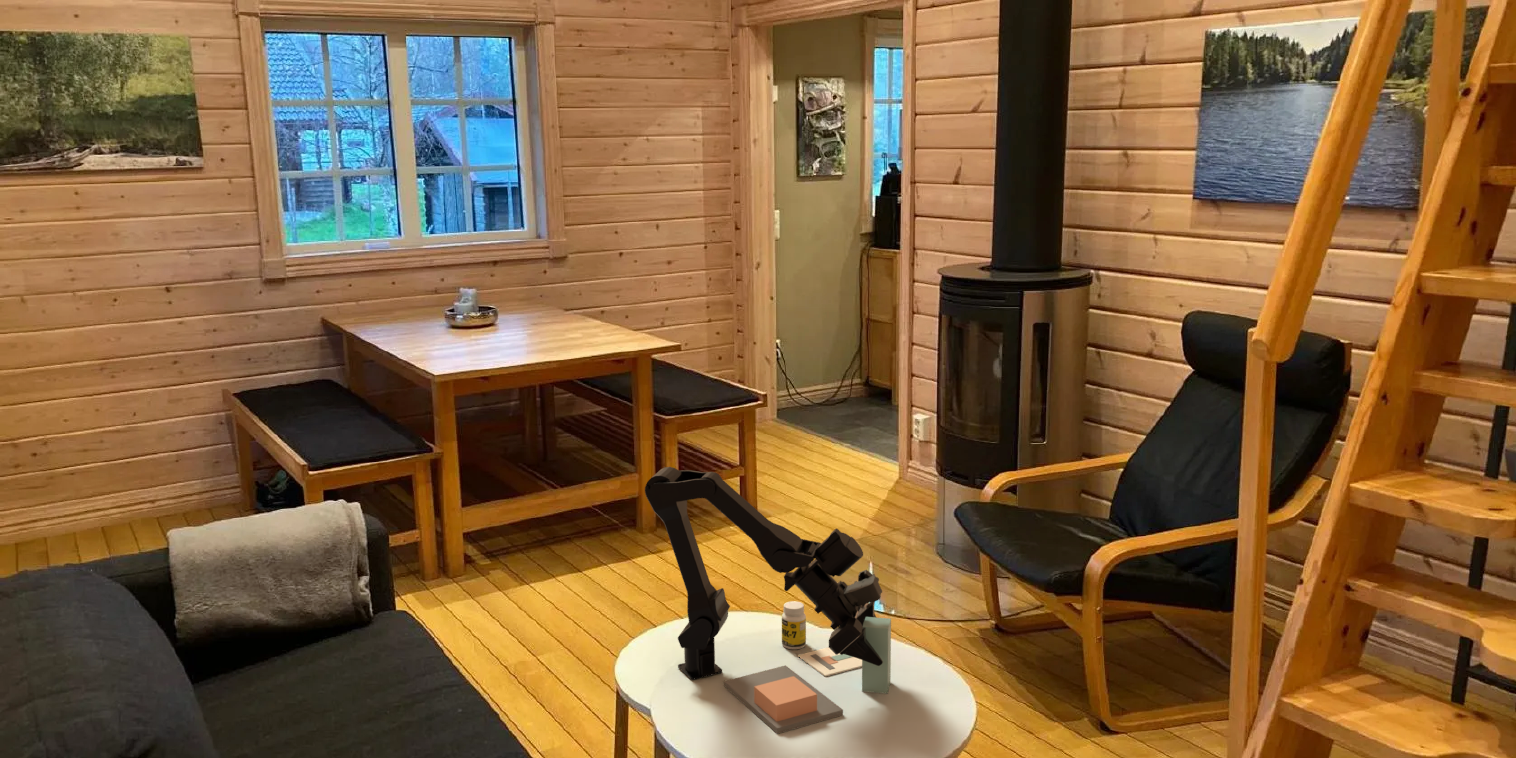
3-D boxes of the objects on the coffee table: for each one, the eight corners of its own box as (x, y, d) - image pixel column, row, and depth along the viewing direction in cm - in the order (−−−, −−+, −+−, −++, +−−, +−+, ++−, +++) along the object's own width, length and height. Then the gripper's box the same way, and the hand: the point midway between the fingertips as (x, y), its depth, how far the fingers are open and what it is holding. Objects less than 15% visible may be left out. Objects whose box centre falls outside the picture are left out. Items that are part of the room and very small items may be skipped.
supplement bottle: (777, 646, 226) (776, 606, 225) (790, 637, 230) (789, 598, 228) (797, 652, 224) (797, 611, 222) (810, 643, 227) (810, 603, 226)
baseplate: (723, 686, 210) (723, 665, 209) (785, 670, 216) (785, 650, 215) (777, 733, 192) (777, 711, 192) (842, 714, 198) (842, 693, 198)
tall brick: (862, 691, 207) (862, 626, 205) (865, 679, 211) (865, 616, 209) (887, 693, 206) (888, 628, 204) (890, 682, 210) (890, 618, 208)
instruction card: (797, 656, 222) (797, 654, 221) (858, 641, 228) (858, 639, 228) (825, 676, 213) (825, 674, 213) (887, 660, 219) (887, 658, 219)
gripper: (847, 582, 196) (911, 647, 196) (862, 545, 214) (921, 605, 214) (802, 622, 199) (865, 686, 199) (820, 582, 217) (878, 642, 217)
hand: (884, 653), depth 207 cm, fingers open, 9 cm apart
